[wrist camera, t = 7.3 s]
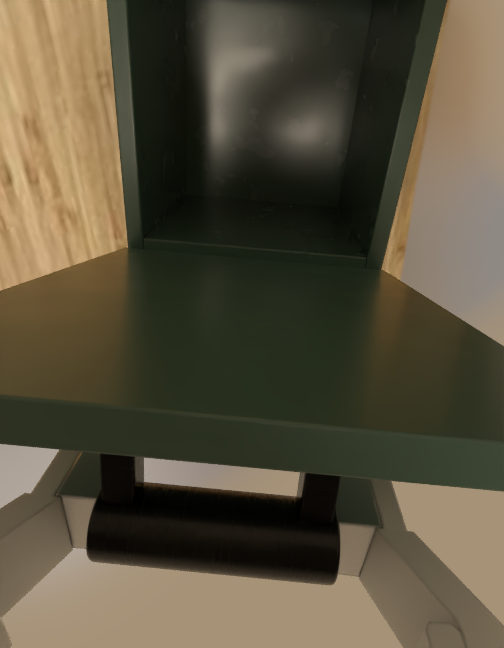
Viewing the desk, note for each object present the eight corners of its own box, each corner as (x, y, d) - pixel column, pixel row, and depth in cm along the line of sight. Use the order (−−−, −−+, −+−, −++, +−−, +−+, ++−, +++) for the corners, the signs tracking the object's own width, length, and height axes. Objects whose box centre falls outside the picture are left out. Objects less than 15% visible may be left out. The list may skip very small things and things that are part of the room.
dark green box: (174, -32, 23) (93, -142, 13) (387, -16, 23) (475, -115, 13) (179, 202, 30) (127, 252, 20) (344, 216, 30) (380, 274, 19)
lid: (-244, 373, 5) (-159, 623, 7) (685, 459, 5) (567, 696, 7) (124, 247, 19) (126, 339, 21) (383, 270, 19) (366, 361, 20)
